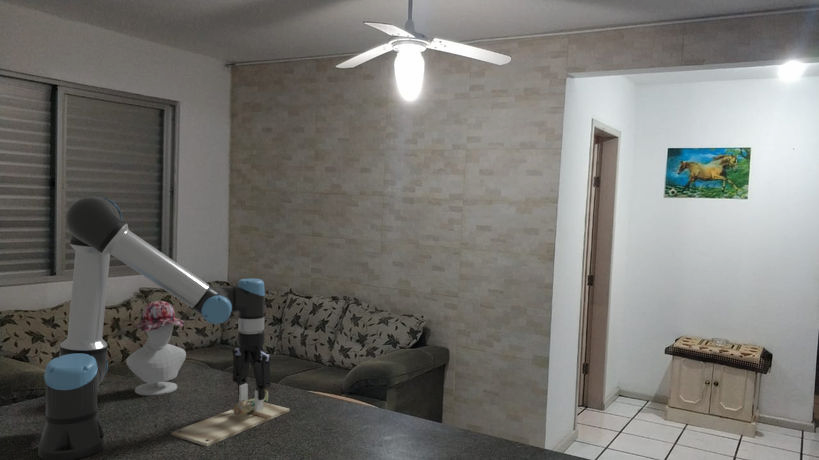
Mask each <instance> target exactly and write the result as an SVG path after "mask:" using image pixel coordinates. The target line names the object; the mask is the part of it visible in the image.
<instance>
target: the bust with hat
mask: <svg viewBox="0 0 819 460" xmlns="http://www.w3.org/2000/svg"><path fill="white" fill-rule="evenodd" d="M141 313H142V314H141V317H142V320H141V321H140V322H139V323H137V324H136V325H134V327H133V329H140V330H142V331H145V332H146V336H147V340H146V342H145V343H144V345H143V346H141V347H140V348H138V349H136V350H135V351H134V352H132V353H131V354H129V356H128V357H127V358H126V359H125V363H126V366H127V367H128V368H129V370H131V372H132V373H133V374H134V375H135V376H137V377H138V378H139V379H141V381H143V382H144V384H140V385H139V386H136V387H135V389H134V392H135V393H136V394H137V395H141V396H159V395H166V394H169V393H172V392H174V391H175V390H177V389H178V384H176V383H175V382H171V381H170V380H174V379H176V378H177V376H178V373H179V371H180V370H181V367H182V365H183V363H184V362H185V360H186V357H187V352H186V350H185V349H183V348H181V347H179V346H176V345H173V344H170V343H169V342H170V339H171V337H172V335H173V332H174V331H173V330H174V327H175V326H174V325H176V326H178V327H183V326H185V321H184V320H182V319H180V318H177V317H175V315H176V313H175V309H174V306H173V305H172V304H171V303H170V302H167V301H163V300H155V301H152V302H149V303H148V304H146V305H145V306H144V308H143V310H142V312H141ZM165 393H166V394H165Z"/></svg>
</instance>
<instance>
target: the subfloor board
mask: <svg viewBox="0 0 819 460" xmlns="http://www.w3.org/2000/svg"><path fill="white" fill-rule="evenodd" d="M290 410H291V409H290V408H288V407H284V406H281V405H277V404H272V403H268V402H264V403H263V409H262V410H260V411H257V412H256V411H255V409H254V410H252V411H250V412H247V413H245V414H242V415H236V414H235V413H234V408H232V409H230V410H228V411H227V410H226V411H224V412H221V413H219V414H217V415H214V416H211V417H209V418H205V419H204V420H201V421H198V422H195V423H193V424H190V425H187V426H184V427H182V428H179V429H177V430H175V431H172V432H171V434H170V435H171V436H173V437H176V438H179V439H182V440H186V441H189V442H192V443H195V444H198V445H202V446H204V447H209V446H212V445H214V444H216V443H219V442H221V441H224V440H226V439H228V438H231V437H233V436H235V435H237V434H240V433H242V432H244V431H247V430H249V429H251V428H253V427H256V426H259V425H261V424H263V423H266V422H268V421H271V420H272V419H273V420H274V419H275V418H278V417H279V416H281V415H282V416H283V415H284V414H287V413H289V412H290Z"/></svg>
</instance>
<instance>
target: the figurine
mask: <svg viewBox="0 0 819 460" xmlns="http://www.w3.org/2000/svg"><path fill="white" fill-rule="evenodd" d="M268 401H269V391H268V390H267V389H265V398H264V399H263V403H264V402H265V403H268ZM233 409H234V413H235V414H236V415H242V414H245V413H247V412H250V411H252V410H254V409H255V397H254V398H250V399H249V398H248V400H242V402H240V403H239V402H237V403H236V404H234V406H233Z"/></svg>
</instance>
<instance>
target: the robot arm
mask: <svg viewBox="0 0 819 460" xmlns="http://www.w3.org/2000/svg"><path fill="white" fill-rule="evenodd" d="M122 215H123V214H122V213H121V210H120V208H119V206H118V205H117V203H115V202H114V201H113V200H111V199H109V198H107V197H104V196H93V195H92V196H90V197H89V196H87V197H83V198H79V199H78V200H75V201H74V202H73V203H72V204H71V205H70V206H69V208H68V209H67V211H66V214H65V224H66V228H67V230H68V232H69V233H70V241H69V245H70V246H71V248H72V249H73V250H74V252H75V253H74V255H75V256H74V265H73V273H72V284H71V285H72V286H71V293H70V294H71V296H70V297H71V298H70V305H69V317H68V328H67V335H66V336H67V337H66V339H64V340H63V341H62V342H61V343H60V345H59V357H55V358H53V359H51V360H50V361H48V363H47V364H46V366H45V370H44V375H43V378H44V386H45V387H44V390H45V391H44V392H45V394H44V395H45V401H44V402H45V424H44V427H43V431H42V434H41V437H40V439H39V444H38V446H37V447H38V450H37V451H38V452H37V454H38V457H39V458H41V459H42V460H79V459H83V458H86V457H90V456H92V455H94V454H97V453H98V452H100V451H101V450H102V449H104V448H105V446H106V436H105V433H104V429H103V428H102V425H101V421H100V419H99V417H98V389H99V387H100V385H101V383H102V381H103V380H104V379H105V377H106V375H107V373H108V367H109V366H108V365H109V363H108V358H107V356H108V355H107V354H108V343H107V342H106V340H104V339H103V336H104V335H103V333H104V324H105V323H104V322H105V314H106V313H105V311H106V305H107V304H106V302H107V293H108V283H109V282H108V281H109V271H110V260H111V256H113V257H114V258H116V259H117V260H118V261H120V262H122V263H123V264H125V265H127V266H128V267H129V268H131V269H133V270H134V271H135V272H137V273H138V274H140V275H141V276H143V277H144V278H146V279H147V280H149V281H150V282H152V283H154V284H155V285H156V286H158V287H160V288H161V289H162V290H164V291H165V292H167V293H169V294H171V295H172V296H173V297H174V298H176V299H178V300H179V301H181V302H182V303H183V304H185V305H186V306H188V307H190V308H191V309H192V310H194V311H195V312H196V313H197V314H199V315H201V316H202V317H203V319H204V320H205V321H206V322H208V323H209V324H213V325H220V324H223V323H225V322H226V321H228V319H229V318H230V316H231V313H238V323H237V324H238V325H237V326H238V327H237V328H238V329H237V330H238V331H239V332H238V334H237V335H238V342H237V343H238V345H239V347H237V348H234V349H232V350H231V351H232V356H233V357H232V358H233V360H232V361H233V362H232V381H233V382H234V383H236V384H237V393H238V396H239V397H238V399H239V400H238V403H240V402H242V400H249V397H248V396H249V395H248V394H249V387H248V386H249V383H248V381H247V378H248V373H249V369H250V366H251V368H252V369H253V374H254V379H255V385H256V388H255V389H254V398H255V411H256V412H257V411H260V410H262V409H263V399H264V398H265V390H266V388H269V387H271V365H270V364H271V358H272V355H271V354H270V353H266V352H265V351H264V348H263V346H264V344H265V331H264V330H265V312H266V311H265V308H266V307H265V305H266V304H265V302H266V301H265V300H266V298H265V297H266V294H265V292H266V291H265V282H264V281H263V279H260V278H253V277H251V278H242V279H239V280H238V282H237V283H238V284H237V285H235V286H211V285H209V284H208V283H207V282H206V281H204V280H202V279H201V278H200V277H198V276H197V275H195V274H193V273H192V272H191V271H190V270H188V269H186V268H185V267H184V266H182V265H181V264H179V263H177V262H176V261H175V260H173V259H172V258H170V257H169V256H167V255H166V254H165V253H163V252H161V251H160V250H159V249H157V248H156V247H154V246H153V245H151V244H150V243H148V242H147V241H145V240H144V239H142V238H141V237H139V236H138V235H137V234H135V233H134V232H132V231H131V230H130V229H129V226H128V225H129V224H128V223H126V222H125V221H124V220H123V216H122Z"/></svg>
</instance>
